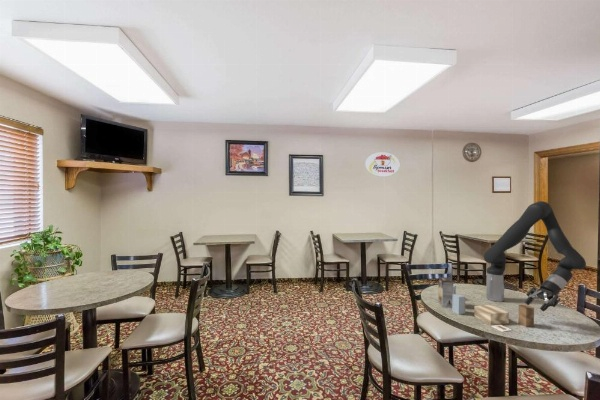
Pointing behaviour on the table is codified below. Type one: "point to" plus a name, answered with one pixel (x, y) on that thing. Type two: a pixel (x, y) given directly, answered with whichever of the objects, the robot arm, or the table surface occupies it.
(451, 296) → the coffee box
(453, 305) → the slate block
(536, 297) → the robot arm
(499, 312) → the birch block
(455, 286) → the medicine box
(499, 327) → the tile
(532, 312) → the walnut block
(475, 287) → the table surface
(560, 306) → the table surface
